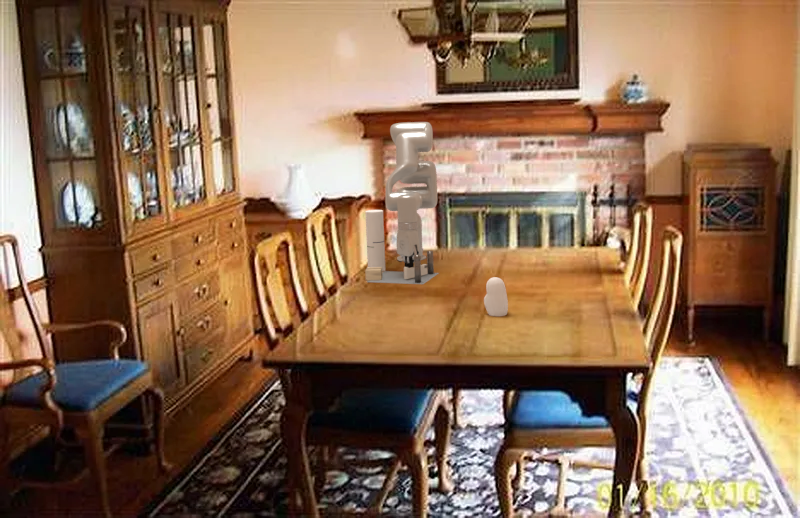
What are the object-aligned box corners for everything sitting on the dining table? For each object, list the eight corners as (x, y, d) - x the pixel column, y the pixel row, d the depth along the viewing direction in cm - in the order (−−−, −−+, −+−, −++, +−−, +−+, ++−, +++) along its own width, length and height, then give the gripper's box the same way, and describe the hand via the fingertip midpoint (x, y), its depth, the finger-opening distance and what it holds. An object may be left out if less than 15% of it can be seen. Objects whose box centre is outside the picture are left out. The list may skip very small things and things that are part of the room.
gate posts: (428, 272, 365) (427, 246, 363) (434, 273, 364) (434, 246, 362) (413, 282, 348) (412, 255, 346) (420, 283, 347) (419, 255, 345)
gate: (424, 273, 363) (424, 262, 362) (427, 274, 362) (427, 262, 361) (404, 278, 354) (403, 267, 353) (407, 279, 353) (406, 267, 352)
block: (367, 277, 362) (366, 267, 361) (382, 276, 361) (382, 266, 360) (365, 280, 356) (365, 270, 355) (381, 280, 355) (380, 270, 355)
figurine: (501, 309, 305) (500, 274, 302) (512, 314, 298) (511, 278, 295) (482, 312, 302) (481, 276, 300) (492, 317, 295) (491, 281, 293)
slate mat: (385, 272, 372) (385, 271, 372) (439, 274, 365) (439, 272, 365) (366, 283, 353) (366, 282, 353) (423, 285, 345) (423, 284, 345)
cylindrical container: (385, 273, 371) (382, 211, 366) (367, 273, 371) (364, 212, 367) (385, 269, 378) (383, 209, 373) (368, 270, 378) (365, 210, 374)
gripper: (389, 225, 360) (391, 271, 363) (410, 229, 347) (411, 277, 351) (405, 223, 364) (407, 268, 367) (426, 227, 351) (428, 274, 355)
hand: (409, 272), depth 359 cm, fingers closed
